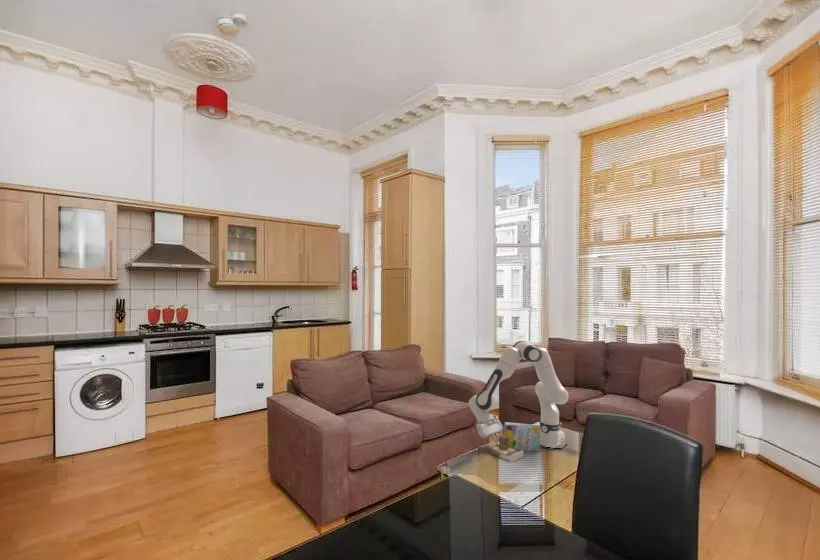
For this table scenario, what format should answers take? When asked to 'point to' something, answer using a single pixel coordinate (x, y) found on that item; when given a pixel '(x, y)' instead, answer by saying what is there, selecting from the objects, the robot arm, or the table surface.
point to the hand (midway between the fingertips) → (497, 441)
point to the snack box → (523, 436)
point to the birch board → (497, 450)
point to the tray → (512, 455)
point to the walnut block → (503, 442)
